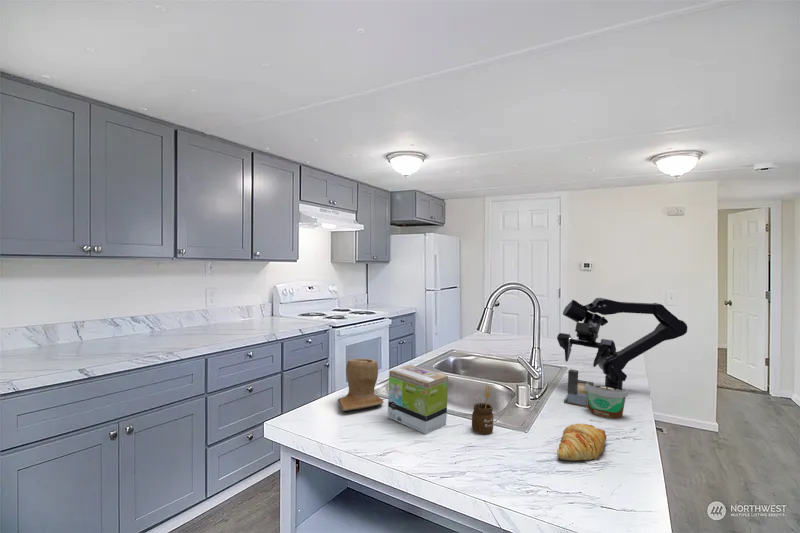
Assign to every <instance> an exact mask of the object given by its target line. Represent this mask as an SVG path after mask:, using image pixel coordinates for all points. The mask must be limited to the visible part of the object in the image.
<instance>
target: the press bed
mask: <svg viewBox="0 0 800 533" xmlns="http://www.w3.org/2000/svg"><path fill="white" fill-rule="evenodd" d="M578 383H583V384H587V383H588V384H589V385H594V383H595V382H593V381H587V380H583V379H582V380H581V379H578ZM594 386H595V385H594ZM563 399H564V400H563V404H565V405H571V406H576V407H580V408H586V409H588V398H587V405H586V406H584V405H579V404H574V403H569V402H568V393H567V394H566V396H565V397H564V398H563Z"/></svg>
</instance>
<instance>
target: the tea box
mask: <svg viewBox="0 0 800 533" xmlns="http://www.w3.org/2000/svg"><path fill="white" fill-rule="evenodd" d="M388 374H389V375H388V397H387V398H388V400H387V401H388V402H387V406H388V407H387V418H388V419H390V420H394V421H395V422H397V423H399V424H402V425H405V426H407V427H409V428H411V429H413V430H415V431H418V432H420V433H422V434H424V435H427V434H429V433H432V432H433V431H435V430H437V429H439V428H442V427H443V426H445V425H447V418H448V417H447V416H448V415H447V413H448V390H449V387H448V386H449V375H446V374H442V373H440V372H436V371H433V370H430V369H426V368H422V367H419V366H415V365H412V364H409V365H405V366H402V367H398V368H396V369H395V368H394V369H392V370H389V371H388Z"/></svg>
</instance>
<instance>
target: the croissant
mask: <svg viewBox="0 0 800 533" xmlns="http://www.w3.org/2000/svg"><path fill="white" fill-rule="evenodd" d="M607 438H608V436H607V434H606V431H605V430H603V429H601V428H597V427H595V426H594V425H592V424H586V423H575V424H569V425H568V426H567V427H566V428H564V429H563V431H562V436H561V439H560V443H559V445H558V449H557V452H556V455H557V458H558V459H560V460H563V461H573V462H574V461H575V462H576V461H577V462H578V461H589V460H596V459H598V457H599V456H600V455H601V454H602V453H603V451H604V448H605V445H606V441H607Z"/></svg>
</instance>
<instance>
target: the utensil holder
mask: <svg viewBox="0 0 800 533" xmlns="http://www.w3.org/2000/svg"><path fill="white" fill-rule="evenodd" d="M491 392H492V386H490V385H487V384H485V391H484V394H482V393H480V395H478V394H476V396H475V401H476V402H475V403H474V406H473V411H472V415H471V430H472V431H473V432H474V433H476V434H478V435H479V434H480V435H489V434H492V433H493V431H494V412H493V406H492V405H491V404H489V403H488V399H489V398H491ZM479 396H481V397H482V399H481V402H478V398H480V397H479ZM485 398H486V399H485ZM483 399H485V402H483Z"/></svg>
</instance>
